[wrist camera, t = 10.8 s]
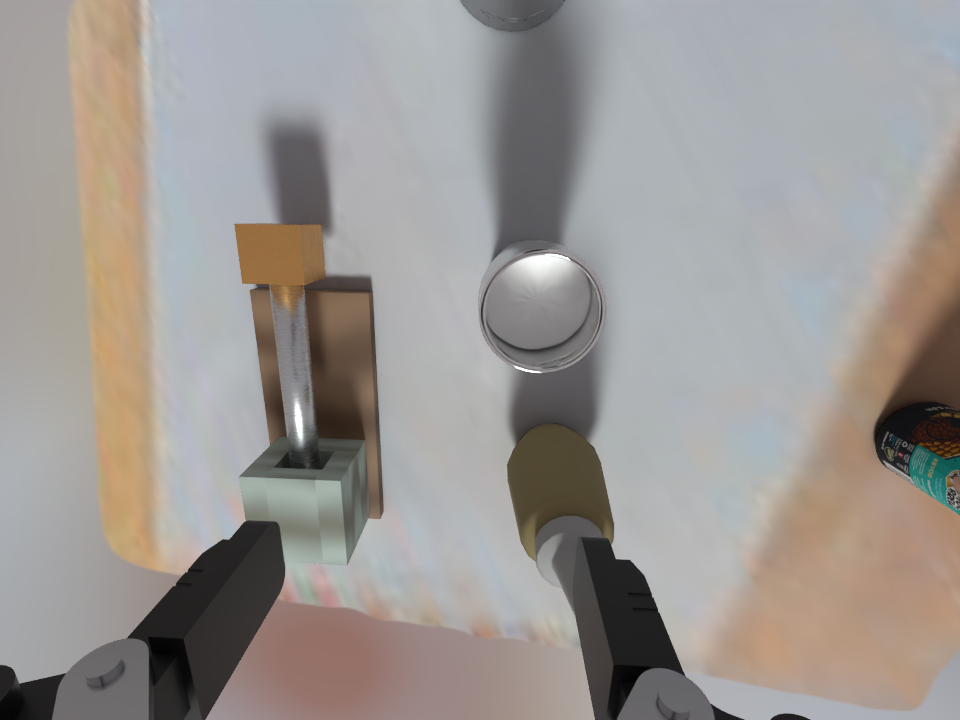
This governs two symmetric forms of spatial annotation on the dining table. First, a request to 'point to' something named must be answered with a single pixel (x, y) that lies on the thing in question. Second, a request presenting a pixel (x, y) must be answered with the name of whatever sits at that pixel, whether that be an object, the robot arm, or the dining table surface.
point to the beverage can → (924, 449)
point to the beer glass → (540, 306)
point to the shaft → (289, 319)
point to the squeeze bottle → (557, 499)
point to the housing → (321, 432)
